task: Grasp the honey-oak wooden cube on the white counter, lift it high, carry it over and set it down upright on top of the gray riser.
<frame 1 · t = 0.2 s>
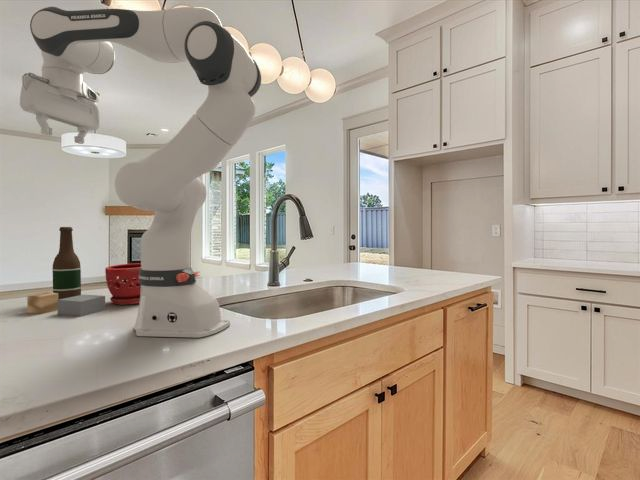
hand: (63, 139, 96), 47 cm above the worktop, fingers open, 8 cm apart
beer bottle: (67, 303, 115), on the worktop
plant pot: (129, 302, 116), on the worktop
gray riser: (82, 311, 103), on the worktop
oak cube: (43, 311, 103), on the worktop
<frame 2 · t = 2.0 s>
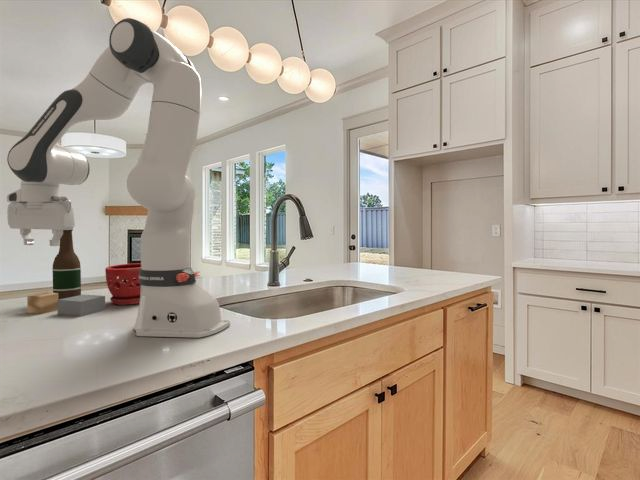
hand: (41, 245, 102), 19 cm above the worktop, fingers open, 8 cm apart
nothing on the worktop moved.
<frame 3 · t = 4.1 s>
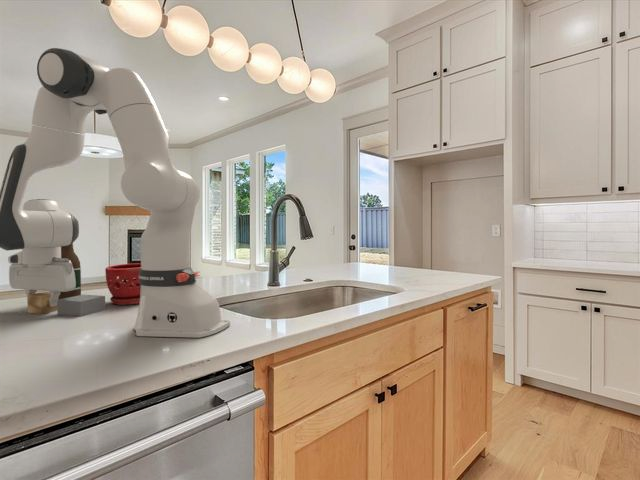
hand: (43, 305, 103), 2 cm above the worktop, fingers closed on oak cube, 5 cm apart
oak cube: (43, 311, 103), on the worktop, touching gripper
everything else where it was.
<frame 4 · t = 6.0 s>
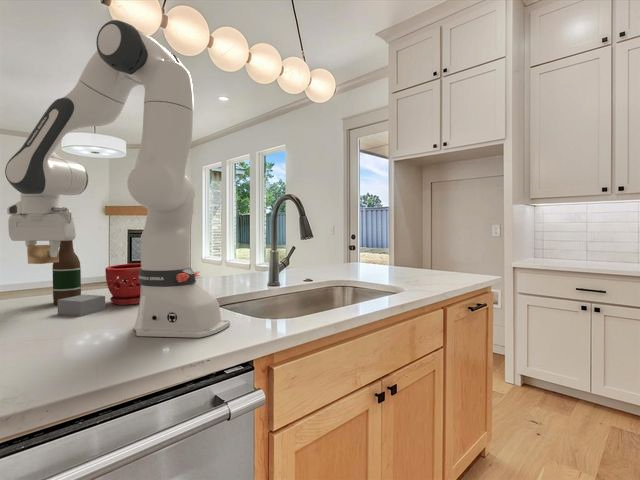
hand: (43, 257, 103), 16 cm above the worktop, fingers closed on oak cube, 5 cm apart
oak cube: (43, 262, 103), point 14 cm above the worktop, touching gripper
everything else where it was.
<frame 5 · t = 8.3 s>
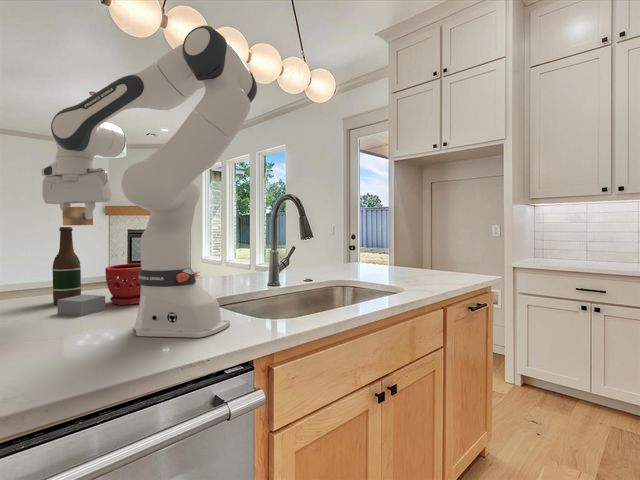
hand: (78, 219, 102), 26 cm above the worktop, fingers closed on oak cube, 5 cm apart
oak cube: (78, 225, 102), point 25 cm above the worktop, touching gripper
everything else where it was.
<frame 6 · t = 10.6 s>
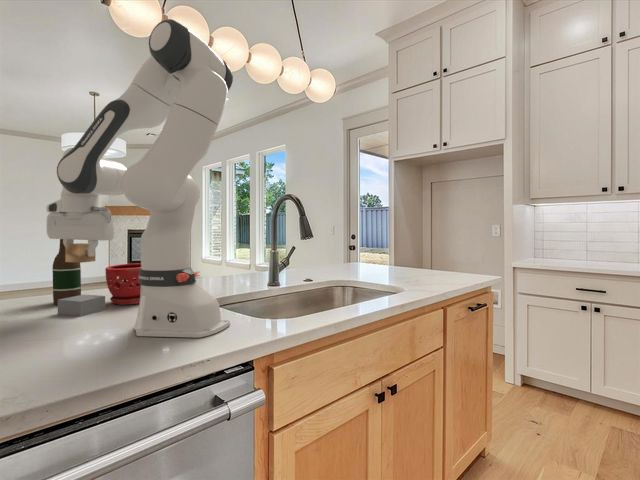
hand: (80, 255, 102), 16 cm above the worktop, fingers closed on oak cube, 5 cm apart
oak cube: (80, 261, 102), point 14 cm above the worktop, touching gripper
everything else where it was.
when the fingers open (7 cm above the worktop, at t = 12.7 s): oak cube drops 1 cm, resting on gray riser.
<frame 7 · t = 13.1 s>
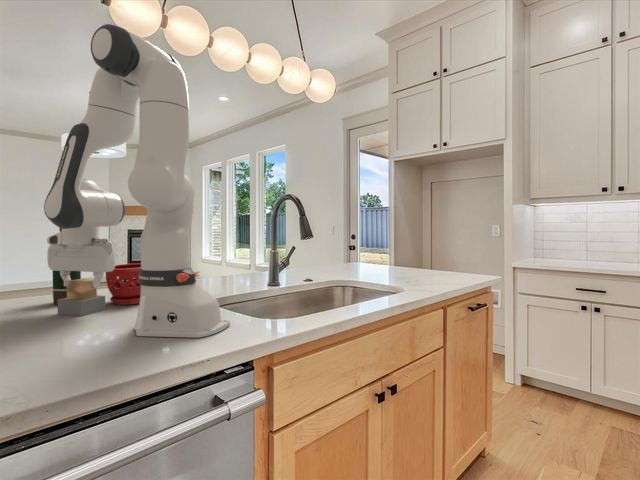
hand: (81, 287, 103), 7 cm above the worktop, fingers open, 8 cm apart
oak cube: (82, 297, 103), point 4 cm above the worktop, touching gray riser
everything else where it was.
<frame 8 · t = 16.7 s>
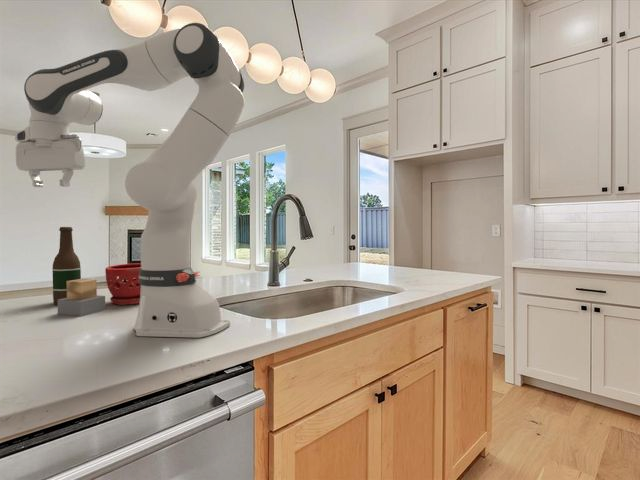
hand: (51, 186, 100), 35 cm above the worktop, fingers open, 8 cm apart
nothing on the worktop moved.
at the end: oak cube inside the target area on the gray riser (0.1 cm from its centre), point 4.0 cm above the gray riser's base; oak cube tilted 0°; the gripper is holding nothing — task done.
